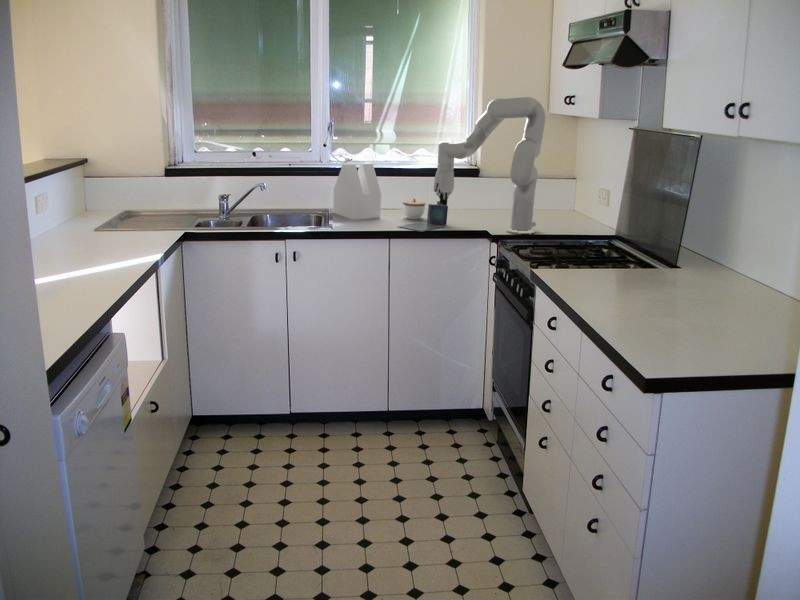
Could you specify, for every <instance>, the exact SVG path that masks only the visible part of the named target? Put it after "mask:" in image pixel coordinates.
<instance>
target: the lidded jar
mask: <svg viewBox="0 0 800 600" xmlns="http://www.w3.org/2000/svg"><path fill="white" fill-rule="evenodd" d="M402 204H403V214H404V216H405V217H406V218H407V219H409V220H419V219H421V217H422V216H423V215H424V214H425V209H426V202H425V201H423V200H417V199H416V198H413V200H405V201H404V200H403V203H402Z"/></svg>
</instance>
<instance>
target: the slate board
mask: <svg viewBox="0 0 800 600" xmlns="http://www.w3.org/2000/svg"><path fill="white" fill-rule="evenodd" d="M397 228H400V229H401V228H402V229H405V230H411V231H415V232H420V233H423V232H426V231H427V232H428V231H433V230H438V229H444V228H445V225H440V224H432V223H431V224H430V223H427V222H422V221H418V222H414V223H407V224H402V225H397Z"/></svg>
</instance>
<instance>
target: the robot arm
mask: <svg viewBox="0 0 800 600" xmlns="http://www.w3.org/2000/svg"><path fill="white" fill-rule="evenodd" d="M519 118H525V125H524V129H523V135H522V139H521V140H520V141H519V142H518V143H516V146H515V148H514V152H513V155H512V162H511V166H510V175H509V177H510V181H511V182H512V183H513V184H514V188H513V192H512V193H513V195H512V203H511V204H512V205H511V220H510V227H511V229H512V230H517V231H528V230H531V229H533V227H536V226H537V223H536V222H535V221H533V216H534V205H535V204H534V203H535V195H536V194H535V193H536V186H537V181H538V169H537V167H536V166H535V165H534V164H535V160H536V158H538V157H539V155H540V153H541V148H542V144H543V143H542V141H543V137H544V130H545V124H546V112H545V108H544V107H543V105H542V104H541V103H540V102H539V100H537V99H536V98H533V97H531V96H523V97H522V96H520V97H511V98H494V99H492V100H490V101H489V103H488V104H487V105H486V110H485V111H484V112H483V113H482V114H481V116H479V117H478V119H477V120H476V121H475V124H474V128H473V130H472V132H470V133H469V135H468V136H467V137H466V138H465V139H464V140H463V141H460V142H454V141H451V140H440V141H439V142H438V149H437V150H438V153H437V169H436V172H435V176H434V180H433V181H434V182H433V192H435V196H437V197H438V199H439V201H440V203H441V204H442V205H444V204H445V205H447V206H448V199H449V198H450V197H449V196H450V195H451V194H453V192H454V187H455V172H454V168H455V167H454V166H455V159H458V160H464V159H466V158H469V157H471V156H472V155H474V154H475V153H476V152H477V150H478V149H479V148H480V147H481V146H482V145H483V144H484V143H485V141H486V140H487V139H488V138H489V136H490V135H491V134H492V133H493V131H494V130H496V128H497V127H498V126H499V125H501V123H502V122H503V121H504V120H505V119H519ZM506 232H508V233H510V234H513V235H521V234H529V235H531V234H530V233H518V232H512V231H509V230H507V229H506ZM532 233H533V232H532Z"/></svg>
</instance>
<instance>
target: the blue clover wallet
mask: <svg viewBox="0 0 800 600" xmlns="http://www.w3.org/2000/svg"><path fill="white" fill-rule="evenodd" d="M427 206H428V208H427V217H426V223H429V224H434V225H440V226H446V225H447V221H448V220H447V219H448V211H449V206H448V204H447V205H445V204H444V205H442V204H441V203H440V200H437V201H436V203H435V204H433V203H428V205H427Z"/></svg>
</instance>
